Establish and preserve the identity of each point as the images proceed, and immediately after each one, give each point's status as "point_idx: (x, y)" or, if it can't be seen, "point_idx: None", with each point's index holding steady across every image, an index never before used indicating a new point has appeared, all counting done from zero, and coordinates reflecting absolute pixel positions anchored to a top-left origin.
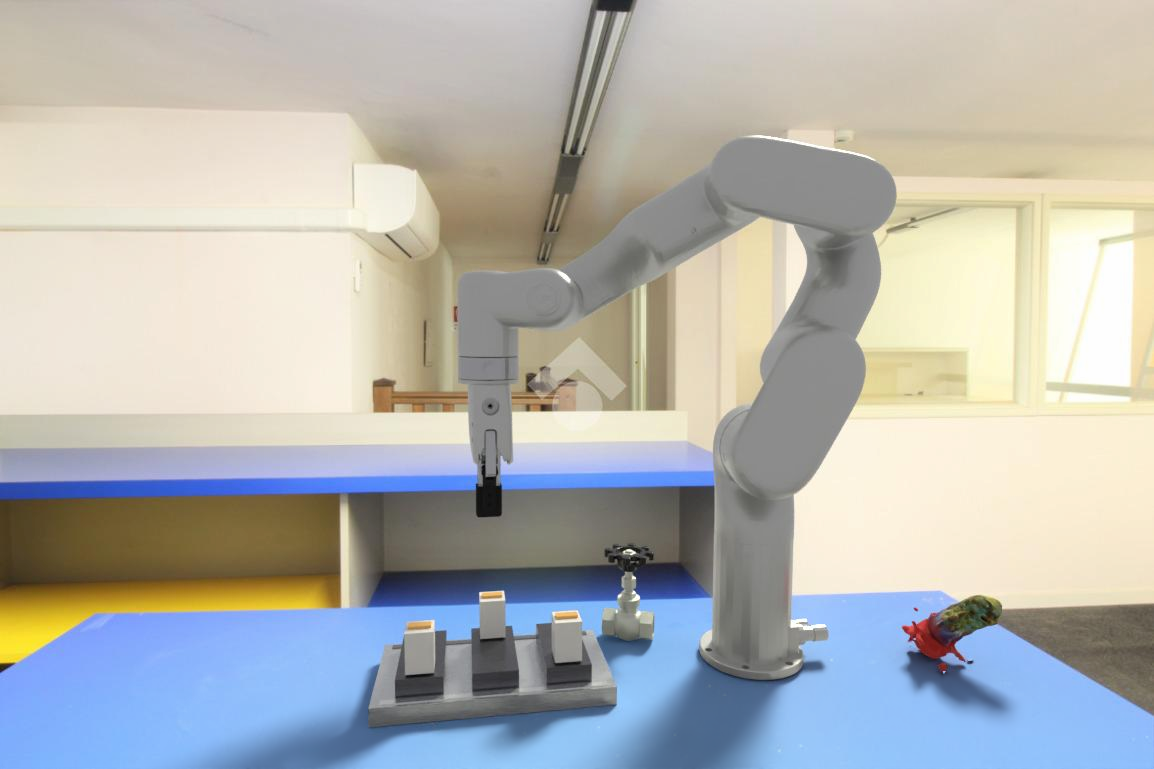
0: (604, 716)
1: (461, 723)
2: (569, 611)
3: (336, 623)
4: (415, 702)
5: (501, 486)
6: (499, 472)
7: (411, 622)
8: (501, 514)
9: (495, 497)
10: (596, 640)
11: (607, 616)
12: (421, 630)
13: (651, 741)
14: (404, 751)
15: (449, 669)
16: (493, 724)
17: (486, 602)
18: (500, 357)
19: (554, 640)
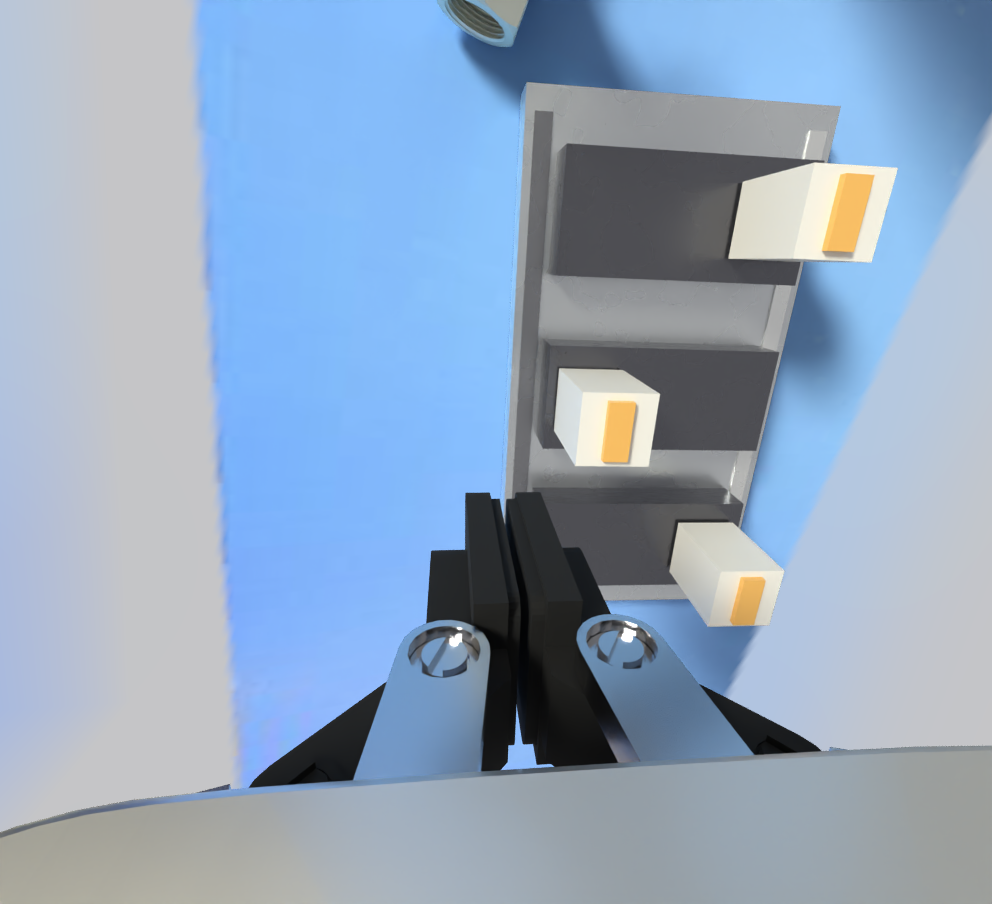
0: (836, 162)
1: None
2: (812, 195)
3: (312, 685)
4: None
5: (580, 597)
6: (726, 730)
7: (716, 617)
8: (539, 492)
9: (597, 591)
10: (597, 90)
11: (511, 1)
12: (765, 594)
13: (954, 80)
14: (787, 525)
15: (637, 480)
16: (773, 392)
17: (649, 447)
18: None
19: (816, 261)
